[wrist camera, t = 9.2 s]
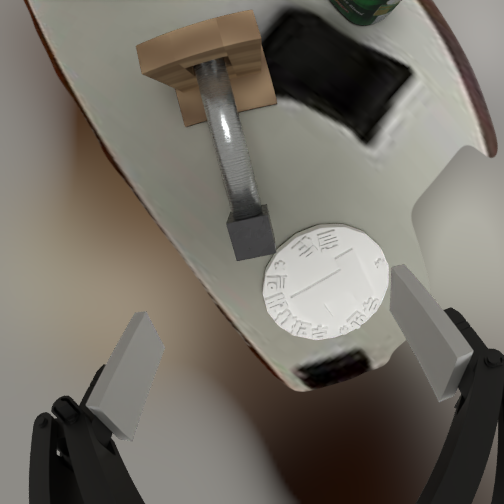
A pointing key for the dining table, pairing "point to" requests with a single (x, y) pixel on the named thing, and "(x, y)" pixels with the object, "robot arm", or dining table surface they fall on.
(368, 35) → the dining table surface
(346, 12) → the coffee jar
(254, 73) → the bracket
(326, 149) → the dining table surface
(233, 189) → the shaft
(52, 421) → the robot arm
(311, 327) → the giant coin
